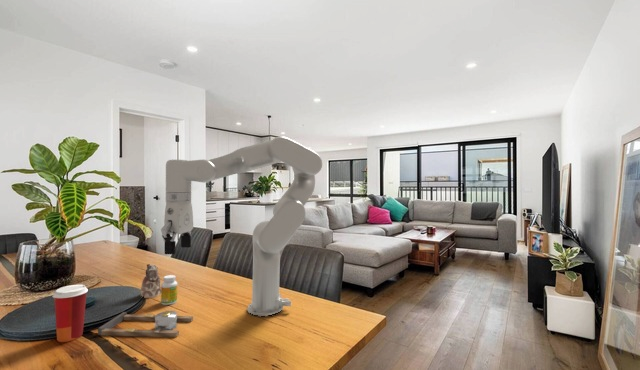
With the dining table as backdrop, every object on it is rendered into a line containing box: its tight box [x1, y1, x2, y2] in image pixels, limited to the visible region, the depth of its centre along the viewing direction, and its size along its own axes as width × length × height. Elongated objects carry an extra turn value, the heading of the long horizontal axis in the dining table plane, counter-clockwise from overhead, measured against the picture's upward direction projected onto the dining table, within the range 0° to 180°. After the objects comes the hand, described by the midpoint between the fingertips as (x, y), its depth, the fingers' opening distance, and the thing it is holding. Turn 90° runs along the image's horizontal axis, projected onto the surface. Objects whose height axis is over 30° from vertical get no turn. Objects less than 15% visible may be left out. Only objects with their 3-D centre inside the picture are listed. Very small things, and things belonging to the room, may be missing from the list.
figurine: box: [140, 263, 162, 299], centre depth 117 cm, size 7×7×12 cm
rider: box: [154, 310, 178, 330], centre depth 91 cm, size 6×6×4 cm
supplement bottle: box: [160, 274, 178, 306], centre depth 110 cm, size 5×5×10 cm
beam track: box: [97, 311, 194, 338], centre depth 91 cm, size 23×11×2 cm, turn 89°
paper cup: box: [51, 284, 89, 343], centre depth 85 cm, size 8×8×14 cm
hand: (178, 250), depth 96 cm, fingers open, 9 cm apart
